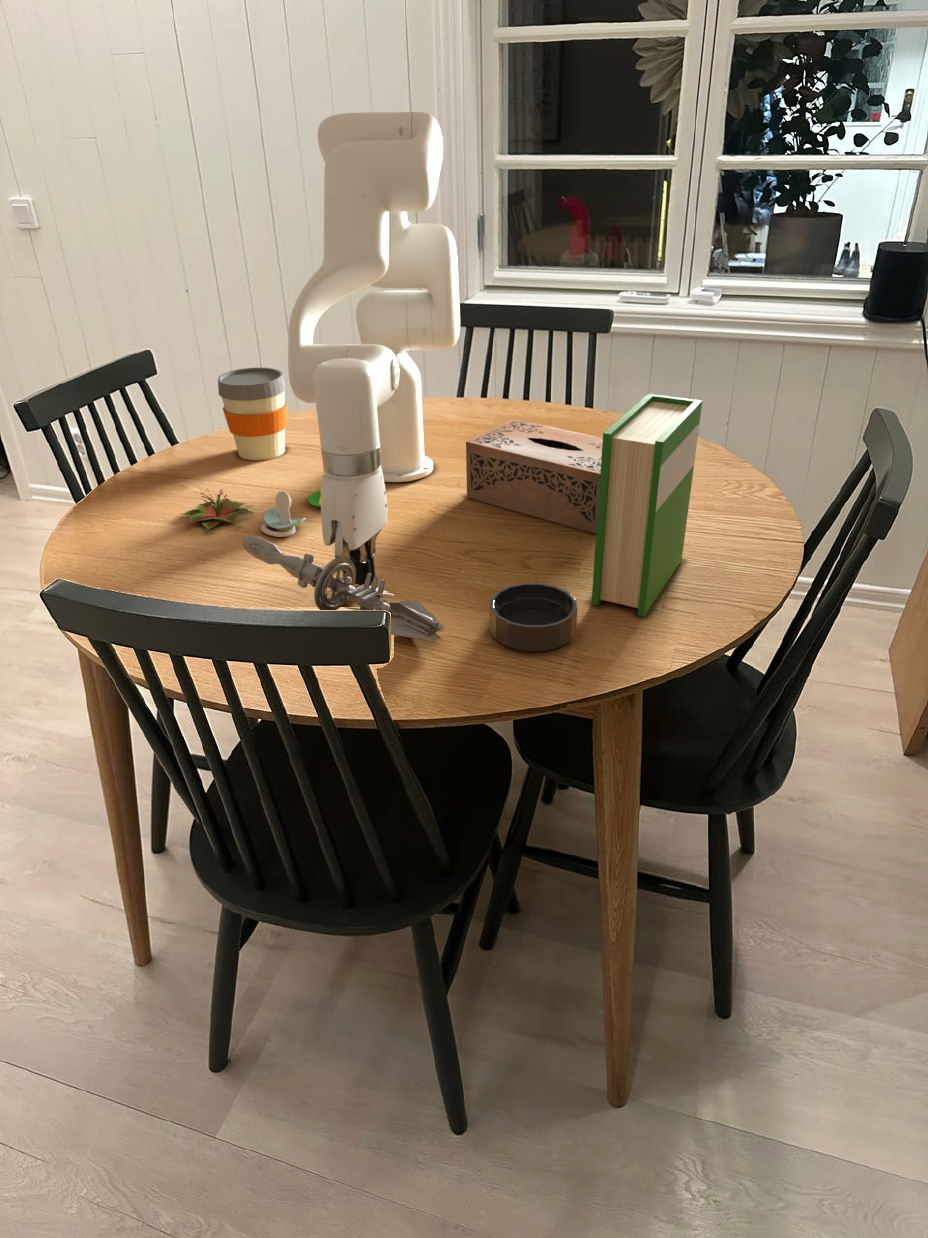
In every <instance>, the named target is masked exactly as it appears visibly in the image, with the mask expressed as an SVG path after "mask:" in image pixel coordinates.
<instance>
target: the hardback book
mask: <svg viewBox="0 0 928 1238" xmlns="http://www.w3.org/2000/svg"><path fill="white" fill-rule="evenodd" d="M702 406H703V400H700V399H693V398H686V397H680V396H679V397H678V396H669V395H663V394H656V393H647V394H646V395H645V396H643V398H642V399H640V400H639V401H638V402H637V403H636V404H635V405H633V406H632V407H631V408H630V409H629V410H627V412H626V413H624V414H623V415H622V416H621V417H620V418H619V419H617V420H616V421H615V422H614V423H613V424H612V425H610V427H608V428H607V429H606V430H605V431H604V432H603V433H602V437H603V444H602V458H601V472H600V487H599V501H598V516H597V530H596V534H595V545H594V547H595V548H594V562H593V573H592V575H593V576H592V590H591V605H592V606H599V605H600V604H601V602H602V601H606V602H610V603H613V604H619V605H622V606H627V607H631V608H636V609H637V616H640V617H646V615H647V614H648V612H649V611H650V609H651V607H652V606H653V605H654V603H655V602H656V600H657V599H658V597H659V596H660V594H661V593H662V591H663V590H664V588H665V586H666V585H667V584H668V582H669V581H670V579H671V577H672V576H673V575H674V573H675V572H676V570H677V568H678V567H679V566H680V564H681V563H682V561H683V554H684V546H685V538H686V529H687V523H688V516H689V515H688V514H689V507H690V499H691V492H692V484H693V477H694V469H695V461H696V453H697V447H698V440H699V439H698V438H699V431H700V429H699V428H700V422H701V415H702V409H703V408H702Z"/></svg>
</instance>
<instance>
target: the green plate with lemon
mask: <svg viewBox="0 0 928 1238" xmlns="http://www.w3.org/2000/svg"><path fill="white" fill-rule="evenodd" d="M319 489H320V490H318V491H315V492H313V493H312V494H310V495H309V496H308V497H307V502H308V503H309V504H310V505H312V506H314V507H318V508H321V487H320V488H319Z"/></svg>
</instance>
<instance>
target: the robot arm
mask: <svg viewBox="0 0 928 1238" xmlns="http://www.w3.org/2000/svg"><path fill="white" fill-rule="evenodd" d="M442 134H443V133H442V130H441V126H440V124H439V122H438V120H437V119H436V118H435V116H433V114H431V113H428V112H422V111H400V112H399V111H398V112H397V111H395V112H392V111H391V112H377V111H373V112H371V111H370V112H347V113H346V112H345V113H337V114H333V115H332V114H331V115H330V116H328V117H326V118H324V119H323V120H321V122H320V123H319V125H318V129H317V144H318V148H319V151H320V155H321V157H322V159H323V162H324V175H323V189H324V190H323V260H322V264H321V265H320V266H319V268H318V269H317V270H316V271H315V272H314V274H313V275H312V276H311V277H310V278H309V279H308V281H307V282H306V283H305V285H304V286H303V287H302V289H301V290H300V293H299V294H298V296H297V298H296V300H295V303H294V305H293V306H292V310H291V314H290V317H289V322H288V344H287V345H288V346H287V347H288V348H287V349H288V350H287V365H288V366H287V367H288V368H287V369H288V370H287V371H288V380H289V385H290V388H291V391H292V392H293V394H294V396H295V397H296V398H298V400H300V401H302V402H304V403H306V404H307V403H308V404H315V408H316V415H317V425H318V434H319V441H320V452H321V460H322V470H323V473H324V474H323V475H322V476H321V484H320V488H321V507H320V516H321V517H320V518H321V533H322V540H323V543H324V546H332V545H334V559H335V558H338V557H342V558H344V557H347V558H349V559H351V560H352V562H353V563H354V565H355V568H356V580H355V585H359V586H363V585H364V583H365V580H366V577H367V574H368V573H370V574H372V577H371V582H370V586H371V585H372V582H373V579H374V576H376V565H375V557H374V556H375V555H376V550H377V548H376V546H377V542H376V541H377V538H378V536H379V534H380V533H381V532H382V530H383V528H384V527H385V526H386V524H387V522H388V502H387V501H388V500H387V492H386V491H387V490H386V484H385V483H406V482H412V481H417V480H420V479H422V478H425V477H428V475H430V474H431V473H432V472H433V470H434V461H433V460H432V459H431V458H430V457H429V456H426V455H425V442H424V440H425V439H424V437H425V436H424V421H423V416H424V415H423V397H422V378H421V372H420V370H419V368H418V367H417V365H416V363H415V362H414V361H413V359H412V358H411V357H410V356H409V354H408V353H407V352H406V351H435V350H436V351H441V350H447V349H451V348H453V347H454V346H455V345H457V342H458V341H459V338H460V332H461V307H460V290H459V289H460V288H459V287H460V285H459V267H458V266H459V265H458V253H457V244H456V240H455V238H454V235H453V232H452V231H451V230H450V229H449V227H447V226H446V225H444V224H441V223H433V222H425V223H424V222H422V223H421V222H420V223H419V222H418V223H414V222H413V223H412V222H410V221H409V220H408V213H420V212H425V211H428V209H430V208H431V207H432V206H433V204H434V202H435V199H436V195H437V191H438V185H439V178H440V172H441V169H442V163H443V155H444V154H443V153H444V141H443V135H442ZM369 286H370V287H374V288H380V289H388V290H378V291H373V292H369V293H367V294H365V295H364V296H362V297H361V299H359V301H358V303H357V306H356V309H355V320H356V326H357V330H358V336H359V339H360V343H355V344H354V343H353V344H352V343H316V344H315V343H314V333H315V330H316V326H317V324H318V322H319V320H320V319H321V317H322V316H323V314H324V313H325V312H326V311H328V310H329V309H330V308H331V307H332V306H333V305H334V304H336V303H337V302H339V301H341V300H343V299H344V298H346V297H348V296H349V295H352V294H354V293H356V292H358V291H360V290H363V289H364V288H367V287H369ZM389 289H390V290H389ZM393 289H394V290H393ZM395 289H397V290H395ZM398 289H400V290H398ZM403 289H404V290H403ZM409 289H427V290H409Z"/></svg>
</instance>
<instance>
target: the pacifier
mask: <svg viewBox="0 0 928 1238" xmlns="http://www.w3.org/2000/svg"><path fill="white" fill-rule="evenodd" d="M275 495H276V496H275V499H274V500H275V506H276V508H270V509H267V510H266V511H265V512H264V514H263V520H264V522H265V523H263V524H262V525H261V527H260V530H261V531H262V533H263V534H265V535H268V536H271V537H276V538H284V537H285V538H286V537H290V536H293V535H294V534H295V533H296V531H297V530H296V526H297V525H299V524H301V523H302V522H304V521H306V517H298V518H292V517H291V512H290V509H291V506H292V498H291V496H290V494H289V493H288V492H286V491H284V490H280V491H278V492H277V494H275ZM278 516H279V517H278ZM269 528H272V529H275V530H276V531H274V530H271V529H269Z"/></svg>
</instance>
